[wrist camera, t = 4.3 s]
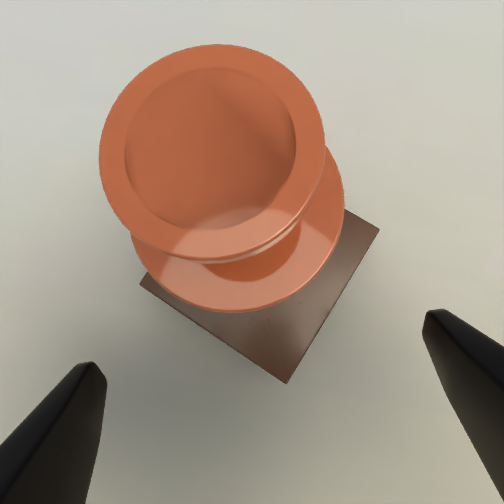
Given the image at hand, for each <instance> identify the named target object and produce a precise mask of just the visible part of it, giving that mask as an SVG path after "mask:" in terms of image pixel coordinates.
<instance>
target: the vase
mask: <svg viewBox="0 0 504 504" xmlns="http://www.w3.org/2000/svg"><path fill="white" fill-rule="evenodd" d="M99 169H100V176H101V181H102V185H103V189H104V191H105V194H106V197H107V200H108V202H109V204H110V205H111V207H112V209H113V211H114V213H115V214H116V216H117V217H118V218H119V220H120V221H121V222H122V224H123V225H124V226H125V227H126V228H127V229H128V230H129V231H130V234H131V239H132V242H133V244H134V247H135V250H136V252H137V254H138V256H139V258H140V260H141V262H142V264H143V265H144V267H145V268H146V269H147V271H148V272H149V273H150V275H151V276H152V277H153V278H154V279H155V280H156V281H157V282H158V283H159V284H160V285H161V286H162V287H163V288H164V289H165V290H167V291H168V292H169V293H171V294H172V295H173V296H175V297H177V298H179V299H180V300H182V301H184V302H186V303H188V304H191V305H193V306H196V307H198V308H202V309H206V310H210V311H214V312H223V313H244V312H250V311H257V310H260V309H264V308H267V307H271V306H273V305H275V304H278V303H280V302H282V301H284V300H286V299H288V298H290V297H291V296H293V295H294V294H296V293H298V292H299V291H300V290H302V289H303V288H304V287H305V286H306V285H308V284H309V283H310V282H311V281H312V280H313V279H314V278H315V277H316V276H317V275H318V273H319V272H320V271H321V270H322V268H323V267H324V266H325V264H326V263H327V261H328V260H329V258H330V256H331V254H332V252H333V251H334V249H335V247H336V244H337V241H338V239H339V236H340V233H341V229H342V224H343V219H344V206H345V203H344V189H343V185H342V180H341V176H340V173H339V170H338V167H337V164H336V162H335V160H334V158H333V156H332V155H331V153H330V151H329V149H328V148H327V147H326V145H325V134H324V129H323V124H322V119H321V117H320V114H319V111H318V108H317V106H316V104H315V102H314V100H313V98H312V96H311V94H310V93H309V92H308V90H307V89H306V87H305V86H304V85H303V83H302V82H301V81H300V80H299V79H298V78H297V77H296V76H295V75H294V74H293V72H291V71H290V70H289V69H288V68H286V67H285V66H284V65H283V64H281V63H280V62H278V61H276V60H275V59H273V58H271V57H270V56H267V55H265V54H263V53H260V52H258V51H255V50H252V49H248V48H245V47H240V46H234V45H221V44H213V45H201V46H196V47H191V48H187V49H184V50H181V51H177V52H174V53H172V54H170V55H168V56H166V57H163V58H161V59H160V60H158V61H156V62H155V63H153V64H151V65H150V66H148V67H147V68H146V69H144V70H143V71H142V72H140V73H139V74H138V75H137V76H136V77H135V78H134V79H133V80H132V81H131V82H130V83H129V84H128V85H127V86H126V87H125V89H124V90H123V91H122V92H121V94H120V95H119V96H118V98H117V100H116V101H115V103H114V104H113V106H112V108H111V110H110V112H109V114H108V116H107V119H106V121H105V124H104V128H103V131H102V135H101V140H100V146H99Z"/></svg>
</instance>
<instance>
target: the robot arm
mask: <svg viewBox="0 0 504 504" xmlns="http://www.w3.org/2000/svg"><path fill="white" fill-rule="evenodd" d="M422 336H423V340H424V342H425V345H426V347H427V349H428V352H429V354H430V357H431V359H432V362H433V364H434V367H435V369H436V371H437V374H438V376H439V379H440V381H441V384H442V386H443V388H444V391H445V393H446V395H447V397H448V399H449V401H450V403H451V405H452V407H453V409H454V411H455V412H456V414H457V416H458V418H459V420H460V422H461V423H462V425H463V427H464V429H465V431H466V433H467V435H468V436H469V438H470V440H471V442H472V444H473V446H474V448H475V449H476V451H477V453H478V455H479V457H480V459H481V461H482V462H483V464H484V466H485V468H486V470H487V472H488V473H489V475H490V477H491V479H492V481H493V483H494V485H495V486H496V488H497V490H498V492H499V494H500V496H501V498H502V499H503V501H504V347H503V346H502V345H500V344H499V343H497V342H496V341H494V340H493V339H491V338H489V337H488V336H486V335H485V334H483V333H482V332H480V331H479V330H477V329H475V328H474V327H472V326H471V325H469V324H468V323H466V322H465V321H463V320H461V319H460V318H458V317H457V316H455V315H454V314H452V313H451V312H449V311H447V310H445V309H436V310H430V311H428V312H427V313H426V316H425V320H424V325H423V329H422ZM106 392H107V380H106V377H105V376H104V374H103V373H102V372H101V370H100V369H99V368H98V366H97V365H96V364H95V363H94V362H84V363H79V364H77V365H76V366H75V367H73V369H72V370H71V371H70V372H69V373H68V374H67V375H66V376H65V377H64V378H63V379H62V380H61V381H60V382H59V383H58V385H57V386H56V387H55V388H54V389H53V390H52V391H51V392H50V393H49V394H48V395H47V396H46V397H45V398H44V399H43V400H42V402H41V403H40V404H39V405H38V406H37V407H36V408H35V409H34V410H33V411H32V412H31V413H30V414H29V415H28V416H27V417H26V419H25V420H24V421H23V422H22V423H21V424H20V425H19V426H18V427H17V428H16V429H15V430H14V431H13V432H12V433H11V435H10V436H9V437H8V438H7V439H6V440H5V441H4V442H3V443H2V444H1V445H0V504H85V502H86V498H87V494H88V490H89V485H90V481H91V477H92V473H93V469H94V464H95V460H96V456H97V452H98V447H99V442H100V436H101V429H102V422H103V414H104V407H105V399H106Z"/></svg>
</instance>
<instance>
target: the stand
mask: <svg viewBox="0 0 504 504" xmlns="http://www.w3.org/2000/svg"><path fill="white" fill-rule="evenodd" d="M379 230H380V229H379V228H377V227H375V226H374V225H372V224H370V223H368V222H367V221H365V220H363V219H361V218H360V217H358V216H356V215H354V214H353V213H351V212H349V211H347V210H346V209H344V219H343V224H342V229H341V233H340V236H339V239H338V241H337V244H336V247H335V249H334V251H333V252H332V254H331V256H330V258H329V260H328V261H327V263H326V264H325V266H324V267H323V268H322V270H321V271H320V272H319V273H318V275H317V276H316V277H315V278H314V279H313V280H312V281H311V282H310V283H309V284H308V285H306V286H305V287H304V288H303V289H302V290H300V291H299V292H298V293H296V294H294V295H293V296H291V297H290V298H288V299H286V300H284V301H282V302H280V303H278V304H275V305H273V306H271V307H267V308H264V309H260V310H257V311H250V312H244V313H223V312H214V311H210V310H206V309H202V308H198V307H196V306H193V305H191V304H188V303H186V302H184V301H182V300H180V299H179V298H177V297H175V296H173V295H172V294H171V293H169V292H168V291H167V290H165V289H164V288H163V287H162V286H161V285H160V284H159V283H158V282H157V281H156V280H155V279H154V278H153V277H152V276H151V275H150V273H149V272H147V273H146V275H145V276H144V278H143V279H142V281H141V282H140V286H142V287H143V288H145V289H146V290H148V291H149V292H151V293H152V294H154V295H155V296H157V297H158V298H160V299H161V300H163V301H164V302H165V303H167V304H168V305H170V306H171V307H173V308H174V309H176V310H177V311H179V312H180V313H182V314H183V315H185V316H186V317H188V318H189V319H190V320H192V321H193V322H195V323H196V324H198V325H199V326H201V327H202V328H204V329H205V330H207V331H208V332H210V333H211V334H213V335H214V336H216V337H217V338H218V339H220V340H221V341H223V342H224V343H226V344H227V345H229V346H230V347H232V348H233V349H235V350H236V351H238V352H239V353H241V354H242V355H243V356H245V357H246V358H248V359H249V360H251V361H252V362H254V363H255V364H257V365H258V366H260V367H261V368H263V369H264V370H266V371H267V372H268V373H270V374H271V375H273V376H274V377H276V378H277V379H279V380H280V381H282V382H283V383H285V384H287V383H288V381H289V379H290V378H291V376H292V374H293V373H294V371H295V369H296V368H297V366H298V364H299V363H300V361H301V359H302V358H303V356H304V354H305V353H306V351H307V350H308V348H309V346H310V345H311V343H312V341H313V340H314V338H315V336H316V335H317V333H318V331H319V330H320V328H321V326H322V325H323V323H324V321H325V320H326V318H327V316H328V315H329V313H330V311H331V310H332V308H333V306H334V305H335V303H336V302H337V300H338V298H339V297H340V295H341V293H342V292H343V290H344V288H345V287H346V285H347V283H348V282H349V280H350V278H351V277H352V275H353V273H354V272H355V270H356V268H357V267H358V265H359V263H360V262H361V260H362V258H363V257H364V255H365V254H366V252H367V250H368V249H369V247H370V245H371V244H372V242H373V240H374V239H375V237H376V235H377V234H378V232H379Z"/></svg>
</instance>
